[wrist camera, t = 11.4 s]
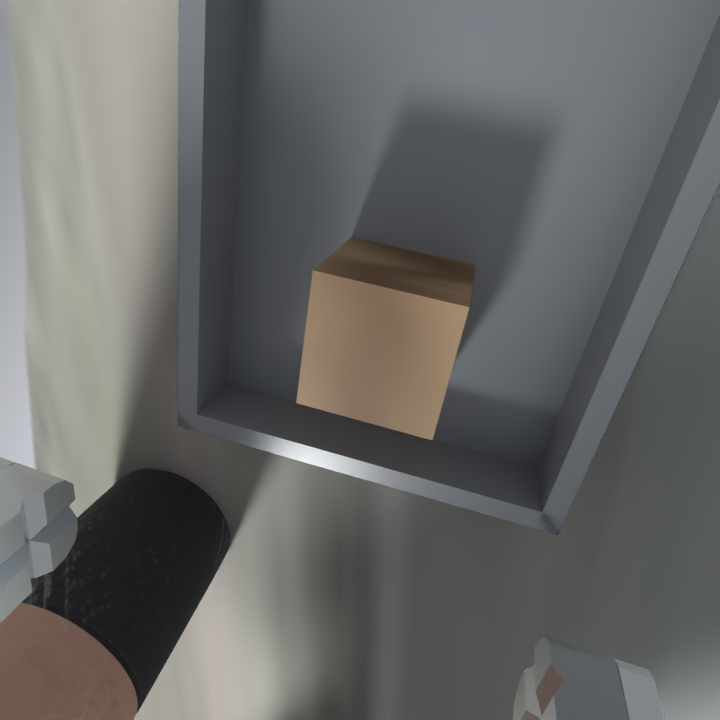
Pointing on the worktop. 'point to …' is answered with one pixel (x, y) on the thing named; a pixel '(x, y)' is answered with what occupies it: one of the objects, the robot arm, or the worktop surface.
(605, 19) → the charcoal tray
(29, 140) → the worktop surface
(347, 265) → the walnut block
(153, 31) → the worktop surface
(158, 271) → the worktop surface
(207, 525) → the travel mug
